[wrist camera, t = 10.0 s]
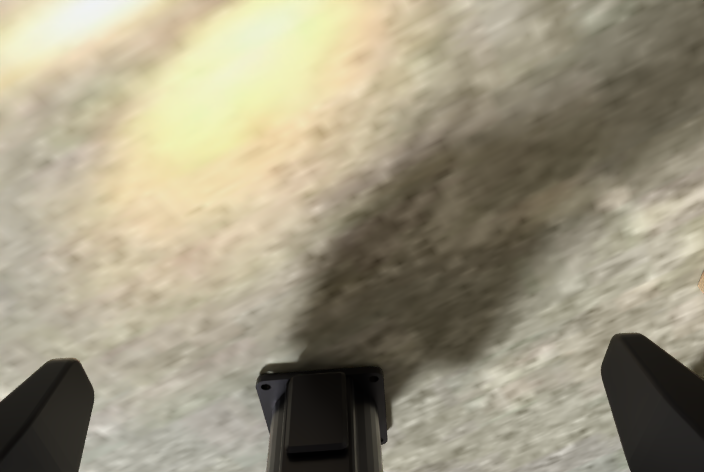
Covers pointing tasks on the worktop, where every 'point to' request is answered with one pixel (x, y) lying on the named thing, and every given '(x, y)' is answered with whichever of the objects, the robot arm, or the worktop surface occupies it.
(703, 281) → the track board
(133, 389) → the worktop surface
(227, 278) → the worktop surface
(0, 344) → the worktop surface
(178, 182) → the worktop surface
